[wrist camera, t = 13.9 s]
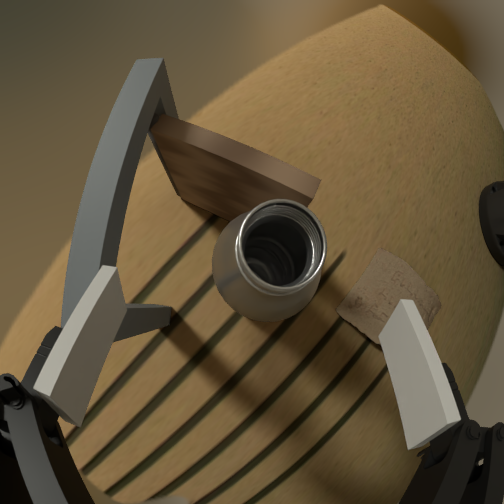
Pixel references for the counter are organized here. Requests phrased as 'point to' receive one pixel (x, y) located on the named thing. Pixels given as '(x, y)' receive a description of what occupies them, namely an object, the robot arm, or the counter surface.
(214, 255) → the silver metal bottle
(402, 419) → the robot arm
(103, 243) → the door frame
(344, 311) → the clay tablet
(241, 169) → the door
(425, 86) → the counter surface
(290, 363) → the counter surface
